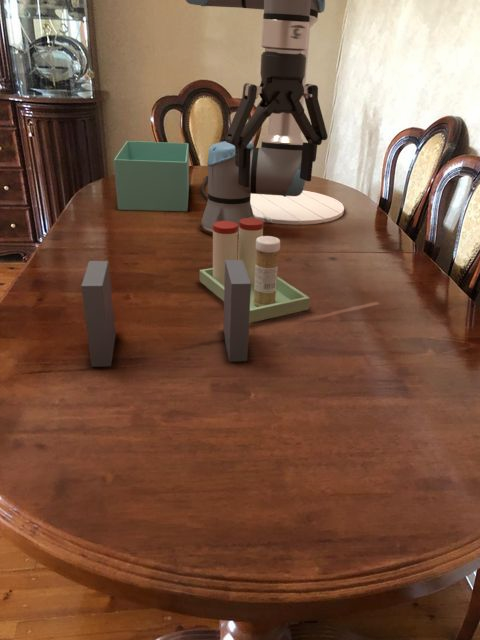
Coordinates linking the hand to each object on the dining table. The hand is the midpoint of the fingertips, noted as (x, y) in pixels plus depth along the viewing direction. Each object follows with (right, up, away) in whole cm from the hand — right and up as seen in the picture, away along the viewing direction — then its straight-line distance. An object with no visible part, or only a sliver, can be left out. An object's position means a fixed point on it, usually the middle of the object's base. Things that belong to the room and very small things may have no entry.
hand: (275, 182), depth 98 cm
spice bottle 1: (-11, -17, +14) cm, 25 cm away
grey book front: (-29, -31, -10) cm, 44 cm away
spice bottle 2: (-5, -16, +17) cm, 24 cm away
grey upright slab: (-7, -31, -6) cm, 32 cm away
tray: (-5, -20, +11) cm, 24 cm away
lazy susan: (+4, +16, +74) cm, 76 cm away
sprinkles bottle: (-2, -22, +7) cm, 23 cm away
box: (-37, +19, +75) cm, 86 cm away
